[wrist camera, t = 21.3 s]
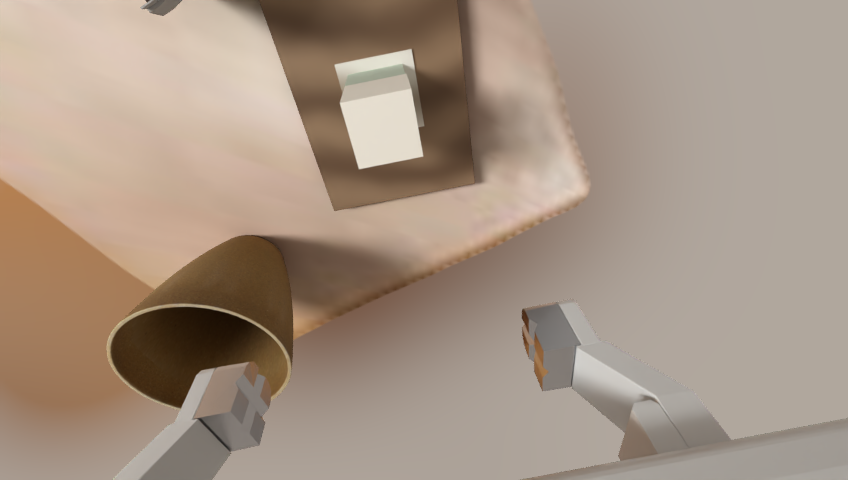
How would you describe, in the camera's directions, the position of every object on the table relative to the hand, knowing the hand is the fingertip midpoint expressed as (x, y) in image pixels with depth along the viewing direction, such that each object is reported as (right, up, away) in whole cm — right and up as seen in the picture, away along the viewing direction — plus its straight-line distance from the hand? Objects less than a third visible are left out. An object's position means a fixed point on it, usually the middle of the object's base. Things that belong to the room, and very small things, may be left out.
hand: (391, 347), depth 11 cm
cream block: (-2, +14, +20) cm, 24 cm away
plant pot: (-20, +1, +35) cm, 40 cm away
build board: (-3, +18, +25) cm, 31 cm away
